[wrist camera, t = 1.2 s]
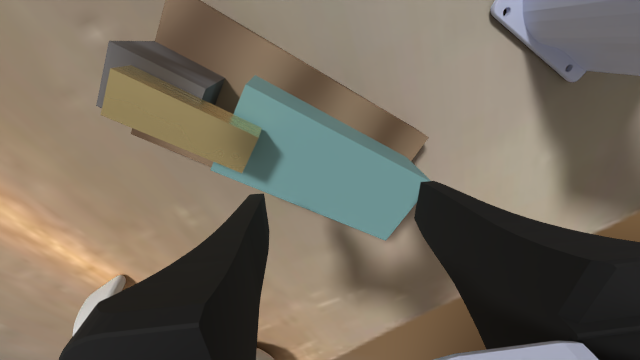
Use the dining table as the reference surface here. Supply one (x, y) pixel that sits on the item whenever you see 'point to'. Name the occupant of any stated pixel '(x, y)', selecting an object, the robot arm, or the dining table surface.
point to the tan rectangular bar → (178, 117)
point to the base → (244, 73)
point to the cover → (323, 163)
